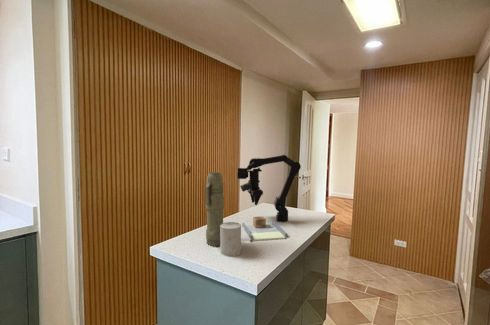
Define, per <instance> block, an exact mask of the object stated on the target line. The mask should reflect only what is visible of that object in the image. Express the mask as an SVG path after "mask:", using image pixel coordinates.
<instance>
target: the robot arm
mask: <svg viewBox="0 0 490 325" xmlns="http://www.w3.org/2000/svg"><path fill="white" fill-rule="evenodd" d="M281 162H283V163H284V164H286V165H287V166H288V171H287V172H288V173H287V176H286V179H285V181H284V184H283V186H282V190H281V191H280V194H279V196H275V198H274V199H275V200H274V201H273V206H274V208H275V210H276V211H277V212H276V215H275V218H276V220H275V221H276V223H277V222H280V223H286V222H289V210H288V209H287V207H286V203H287V197H288V194H289V192H290V190H291V186H292V184H293V181H294V179H295V177H296V175H297V174H298V173H299V171H300V170H301V164H300V162H298V161H295V160H293V159H292V158H290V157H288V155H285V154H281V155H275V156H270V157H263V158H261V157H260V158H259V157H255V158H251V159H249V163H248V165H247V166H246V167H245V168H244V167H238V168H237V173H236V174H237V176H236V177H237V180H247V179H248V178H249V180H247V183H244V184H241V185H240V190H241V191H242V192H248V194H249V195H250V196H249V197H250V200H251V203H252V204H253V203H254V205H255V206H257V205H258V203H259V201H260V200H261V197H262V196H263V195H264V191H263V190H262V189H261V188H260V182H261V181H260V172H262V169H261V168H260V167H262V166H266V165H270V164H274V163H275V164H276V163H281Z"/></svg>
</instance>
